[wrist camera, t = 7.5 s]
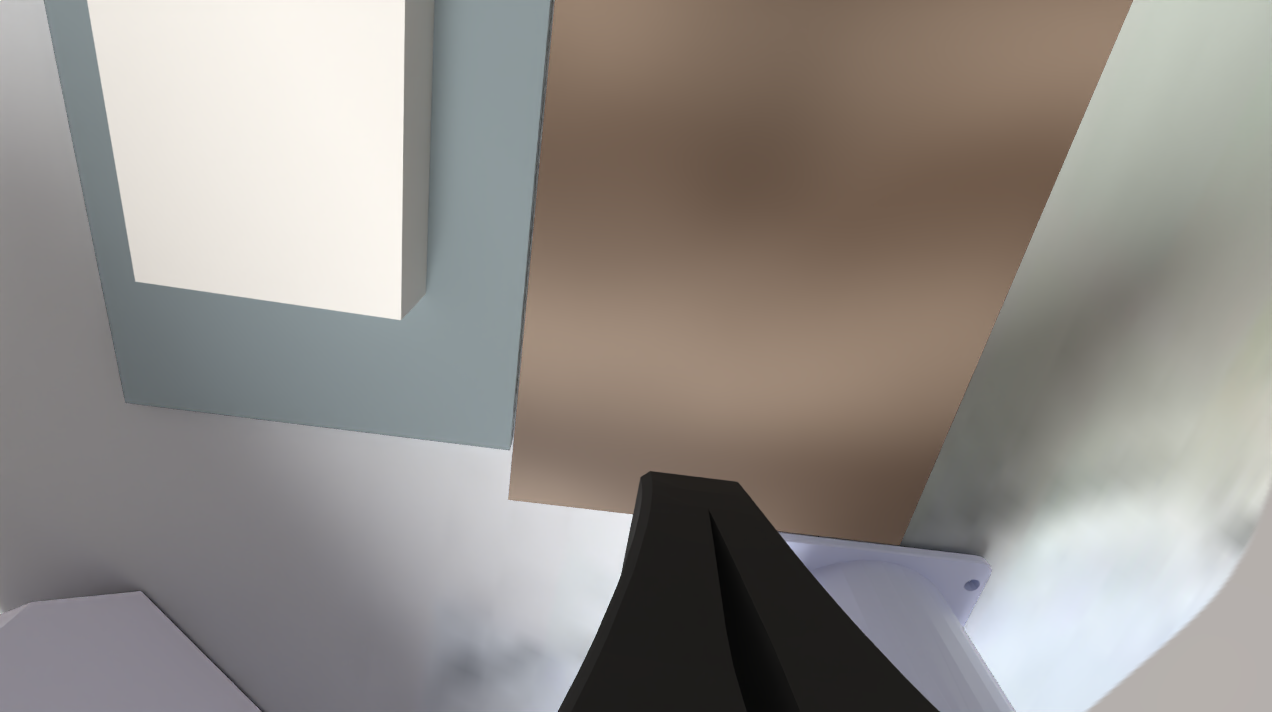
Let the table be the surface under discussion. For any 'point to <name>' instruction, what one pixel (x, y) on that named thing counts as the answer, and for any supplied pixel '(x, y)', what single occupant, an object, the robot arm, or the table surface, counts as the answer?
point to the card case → (273, 146)
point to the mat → (340, 341)
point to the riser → (784, 240)
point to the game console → (106, 660)
